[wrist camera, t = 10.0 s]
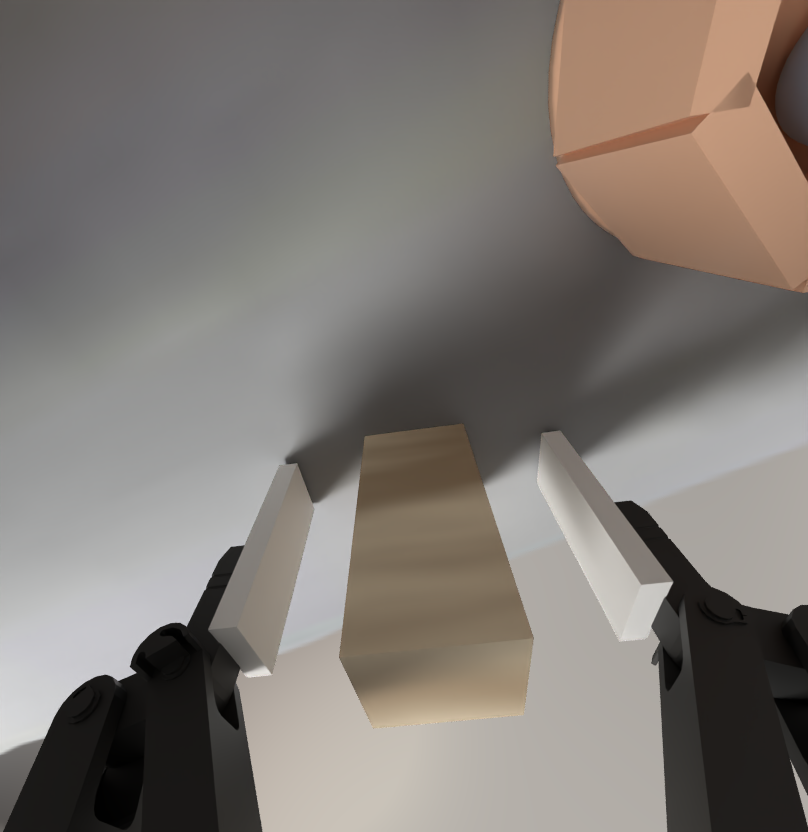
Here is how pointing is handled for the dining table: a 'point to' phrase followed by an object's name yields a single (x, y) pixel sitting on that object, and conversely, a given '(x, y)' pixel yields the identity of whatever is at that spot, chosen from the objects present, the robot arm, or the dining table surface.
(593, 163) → the terracotta cup
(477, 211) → the dining table surface
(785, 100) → the ball
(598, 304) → the dining table surface
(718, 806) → the robot arm
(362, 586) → the block
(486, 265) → the dining table surface
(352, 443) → the dining table surface
